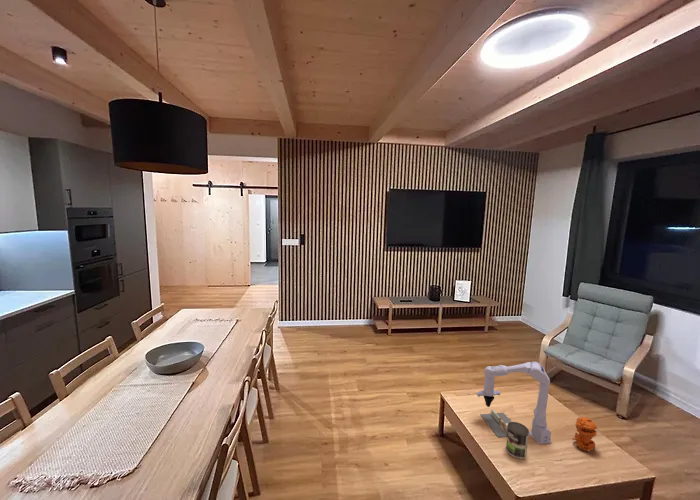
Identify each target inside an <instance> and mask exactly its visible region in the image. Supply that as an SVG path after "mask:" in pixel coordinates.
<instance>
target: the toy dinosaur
mask: <svg viewBox="0 0 700 500" xmlns="http://www.w3.org/2000/svg"><path fill="white" fill-rule="evenodd" d="M593 420H594V419H593V418H591V419H590V418H589V417H588V416H587V417H586V416H585V417H579V416H578V418H576V421H575V428H576V431H577V432H575V433H574V437H572V441H573V440H574V441H575V442H576V447H578V448H580V450H584V451H586V452H590V451H591V452H593V451H594V450H593V449H595V450H596V443H595V441H594V440H592V439H593V438H594V437H596V436H597V434H598V433H597V431H596V430H598V426H597V424H596V423H595V422H594V421H593Z"/></svg>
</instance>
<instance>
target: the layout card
mask: <svg viewBox="0 0 700 500" xmlns="http://www.w3.org/2000/svg"><path fill="white" fill-rule="evenodd" d="M496 414H497V415H498V416H499V417H502V420H503V422H504V423H505V424H506V425H507V426H508V423H510V422H513V421H512V420H511V419H510V418H509V417H508V416H507V415H506V413H504V412H496ZM480 417H481V418H482V419H483V421H484V422H485V423H486V424H487V426H488V427H489V428H490V429H491V431H492V432H493V433H494V434H495V436H496V437H497V438H507V433H506V432H505V431H504V430H503V428H502V427H501V426H500V425H499V423H498V422H497V421H496V420H495V419H494V417H493V416H492V415H491V412H490V413H480Z"/></svg>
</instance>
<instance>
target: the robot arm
mask: <svg viewBox="0 0 700 500" xmlns="http://www.w3.org/2000/svg"><path fill="white" fill-rule="evenodd" d="M509 373H511V374H512V373H524V374H526V375H527V376H529V375H530V377H532V378H533V379H535V380H536V381H537V382H539V389H538V395H537V396H538V397H537V403H536V406H535V408H534V409H533V418H532V422H531V423H532V424H531V431H530V430H529V434H528V435H529V436H530V437H532V438H533V440H535V442H536V443H537V444H538V445H543V444H552V441H551V437H552V436H551V435H552V432H551V430H550V429H549V428H548V421H547V406H548V405H547V404H548V398H549V392H550V385H551V379H550V377H549V376H548V374H547V372H546V369H545V368H544V366H543V365H542V364H541V363H540V362H538V361H531V362H530V361H527V362H524V363H519V364H515V365H509V366H506V365H504V364H503V365H502V364H499V365H496V366H495V365H492V366H490V365H488V366H486V367H485V368H484V373H483V374H484V381H483V390H481V391H477V392H476V396H477V397H478V398H480V397H483V398H484V403H485V406H486V407H488V408H489V407H491V404H492V402H493V401H494V400H495V396H501V392H500V391H499V390H495V377H504V376H508V375H509Z"/></svg>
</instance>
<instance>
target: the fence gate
mask: <svg viewBox="0 0 700 500" xmlns="http://www.w3.org/2000/svg"><path fill="white" fill-rule="evenodd" d="M490 413H491V415H492V416H493V417H494V419H495V420H496V421H497V422H498V423H499V416H498V415H497V414H496V413H497V412H496V411H495V410H494V409H493V408H492V409H491V410H490Z"/></svg>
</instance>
